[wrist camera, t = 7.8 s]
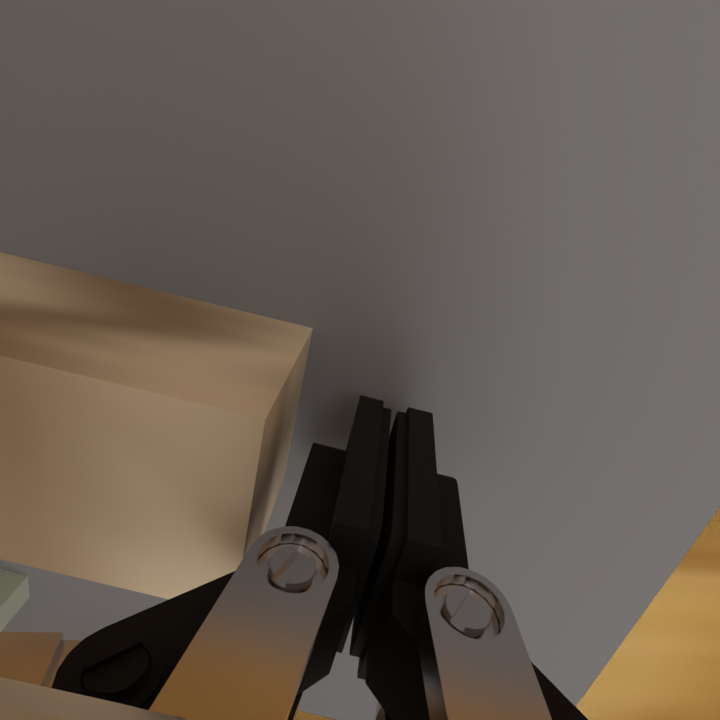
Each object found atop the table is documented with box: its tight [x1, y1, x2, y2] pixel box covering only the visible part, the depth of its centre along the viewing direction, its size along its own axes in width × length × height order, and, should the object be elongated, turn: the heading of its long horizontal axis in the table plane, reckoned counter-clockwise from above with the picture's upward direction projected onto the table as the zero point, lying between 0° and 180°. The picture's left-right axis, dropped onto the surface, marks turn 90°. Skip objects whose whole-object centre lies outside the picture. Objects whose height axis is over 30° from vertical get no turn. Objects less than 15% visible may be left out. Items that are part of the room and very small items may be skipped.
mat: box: [0, 0, 720, 720], centre depth 11 cm, size 26×24×3 cm
